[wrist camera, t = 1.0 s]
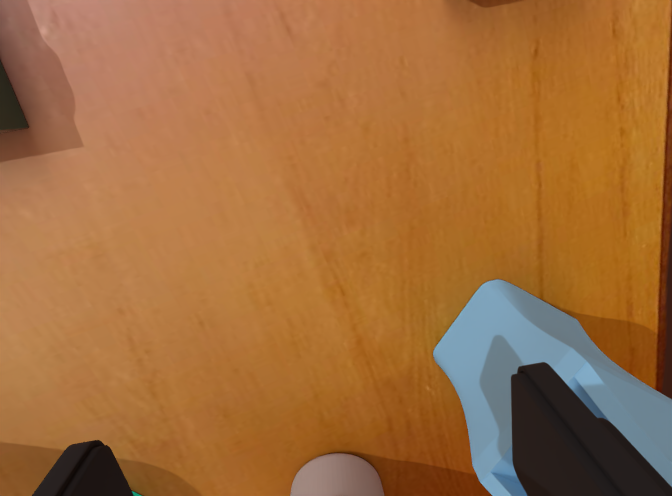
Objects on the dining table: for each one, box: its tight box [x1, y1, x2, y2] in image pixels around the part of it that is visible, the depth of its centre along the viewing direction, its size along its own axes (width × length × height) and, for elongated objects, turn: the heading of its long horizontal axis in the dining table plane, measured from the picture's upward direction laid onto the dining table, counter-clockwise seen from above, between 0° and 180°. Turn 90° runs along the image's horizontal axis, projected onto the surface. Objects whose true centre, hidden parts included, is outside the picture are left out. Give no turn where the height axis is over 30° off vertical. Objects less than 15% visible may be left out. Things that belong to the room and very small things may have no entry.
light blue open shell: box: [433, 279, 672, 496], centre depth 19 cm, size 8×8×20 cm
